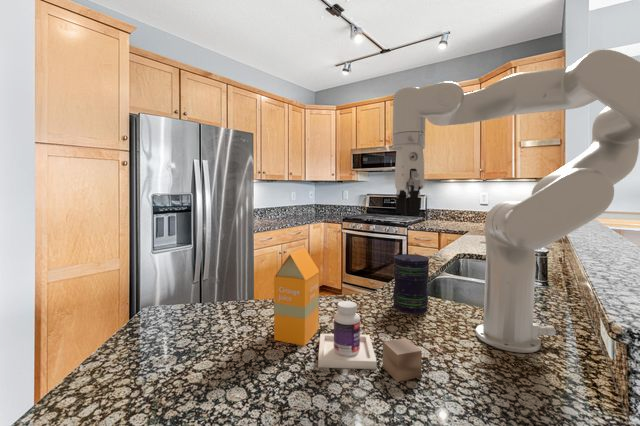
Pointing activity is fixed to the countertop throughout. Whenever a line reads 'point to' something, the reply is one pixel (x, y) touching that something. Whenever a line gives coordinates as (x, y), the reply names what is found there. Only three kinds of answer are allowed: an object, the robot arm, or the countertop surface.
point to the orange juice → (296, 299)
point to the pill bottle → (347, 329)
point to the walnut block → (402, 359)
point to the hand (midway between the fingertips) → (406, 214)
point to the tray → (335, 360)
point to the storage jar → (411, 283)
